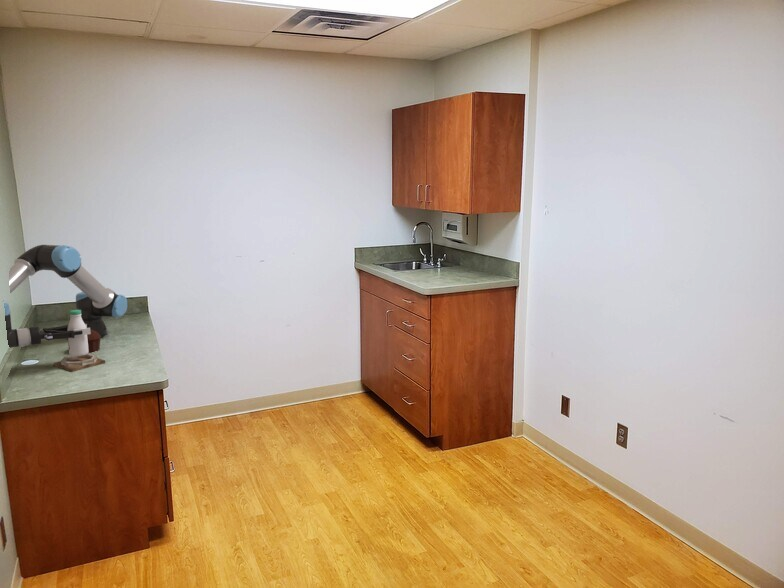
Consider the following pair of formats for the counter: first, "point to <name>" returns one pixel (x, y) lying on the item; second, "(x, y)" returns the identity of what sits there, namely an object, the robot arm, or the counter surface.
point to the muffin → (93, 341)
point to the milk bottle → (78, 343)
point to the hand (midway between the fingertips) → (88, 328)
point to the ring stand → (79, 362)
